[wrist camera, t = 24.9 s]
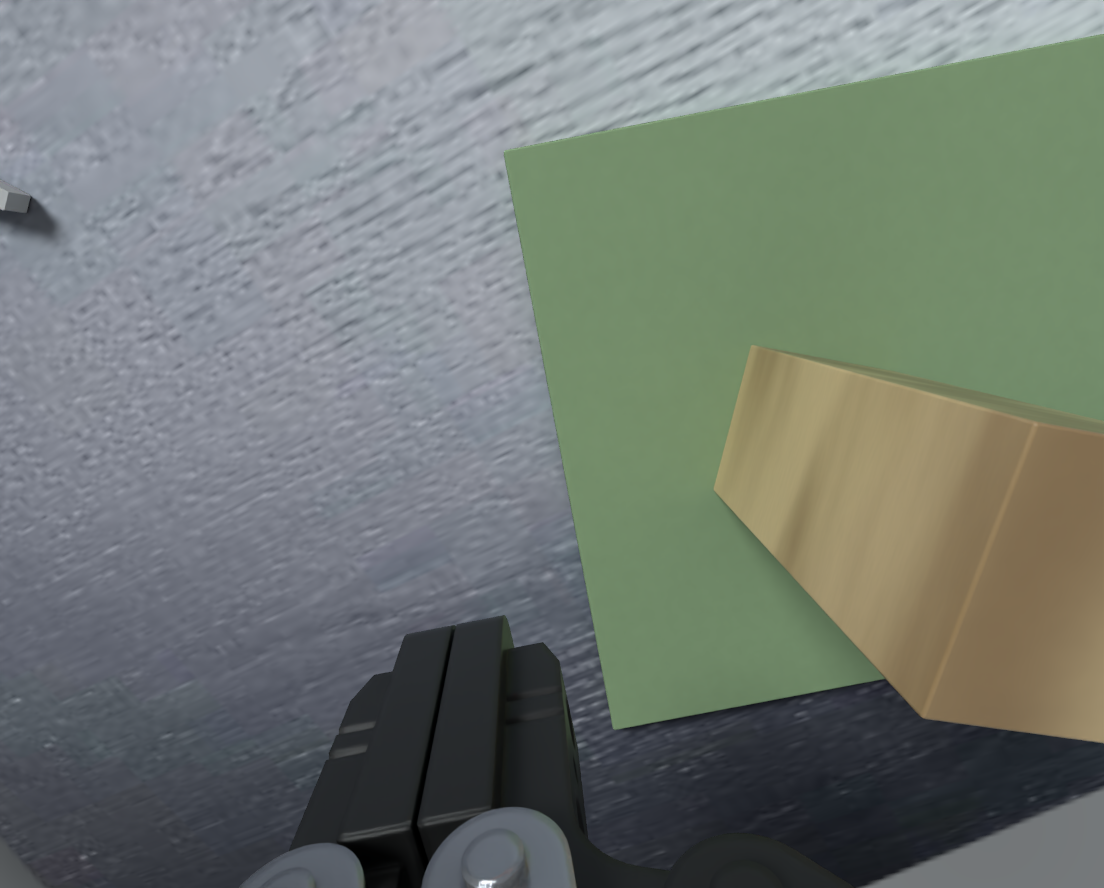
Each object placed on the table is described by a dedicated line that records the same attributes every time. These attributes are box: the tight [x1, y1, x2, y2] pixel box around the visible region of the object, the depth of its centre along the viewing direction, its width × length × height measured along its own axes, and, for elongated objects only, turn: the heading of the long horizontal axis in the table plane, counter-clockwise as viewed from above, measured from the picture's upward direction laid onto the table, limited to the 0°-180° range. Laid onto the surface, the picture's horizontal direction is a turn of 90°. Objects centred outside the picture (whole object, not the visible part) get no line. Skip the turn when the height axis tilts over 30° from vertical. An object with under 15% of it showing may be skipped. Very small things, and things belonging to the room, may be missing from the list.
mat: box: [504, 34, 1104, 730], centre depth 18 cm, size 18×20×1 cm
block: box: [714, 345, 1104, 743], centre depth 13 cm, size 4×4×10 cm
